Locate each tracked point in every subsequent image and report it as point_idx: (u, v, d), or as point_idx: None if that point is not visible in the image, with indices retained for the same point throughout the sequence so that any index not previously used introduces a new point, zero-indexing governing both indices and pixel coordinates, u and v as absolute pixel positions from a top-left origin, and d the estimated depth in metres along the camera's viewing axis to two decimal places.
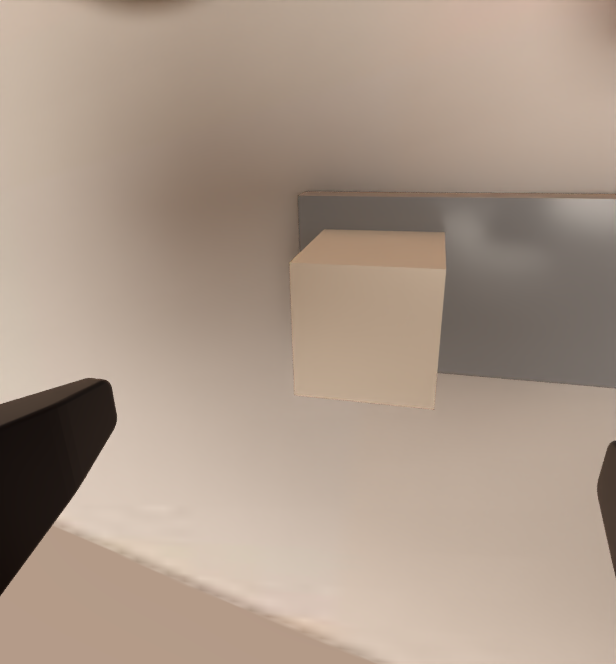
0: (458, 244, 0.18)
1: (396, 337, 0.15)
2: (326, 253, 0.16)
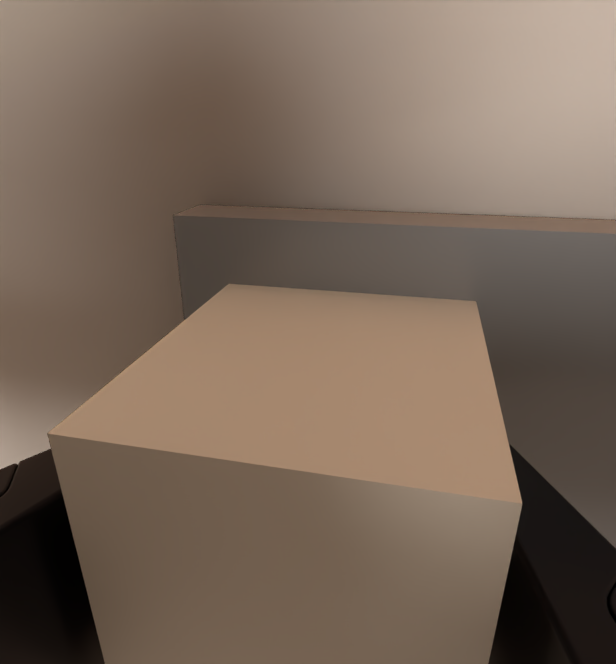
0: (504, 327, 0.09)
1: (360, 647, 0.05)
2: (183, 382, 0.06)
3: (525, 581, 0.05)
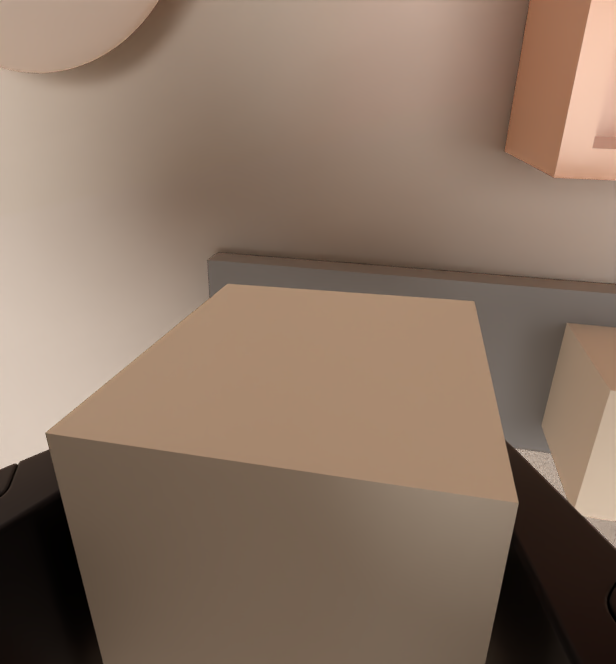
0: None
1: (358, 646, 0.05)
2: (181, 381, 0.06)
3: (525, 581, 0.05)
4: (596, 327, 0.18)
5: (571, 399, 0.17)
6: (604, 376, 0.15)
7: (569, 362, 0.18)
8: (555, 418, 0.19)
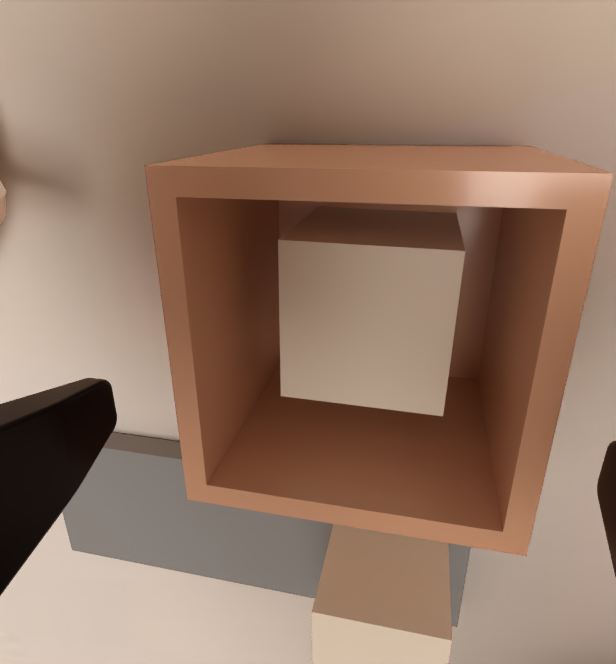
0: (165, 486, 0.23)
1: (402, 331, 0.13)
2: (322, 231, 0.13)
3: None
4: None
5: None
6: (319, 591, 0.17)
7: None
8: None
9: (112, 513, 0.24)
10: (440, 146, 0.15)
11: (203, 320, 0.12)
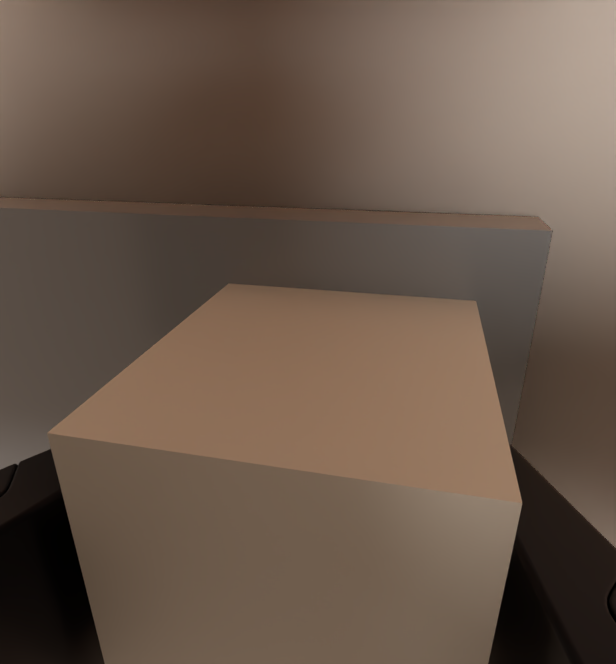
0: None
1: None
2: None
3: (525, 581, 0.05)
4: (272, 290, 0.09)
5: None
6: (103, 393, 0.06)
7: None
8: None
9: None
10: None
11: None
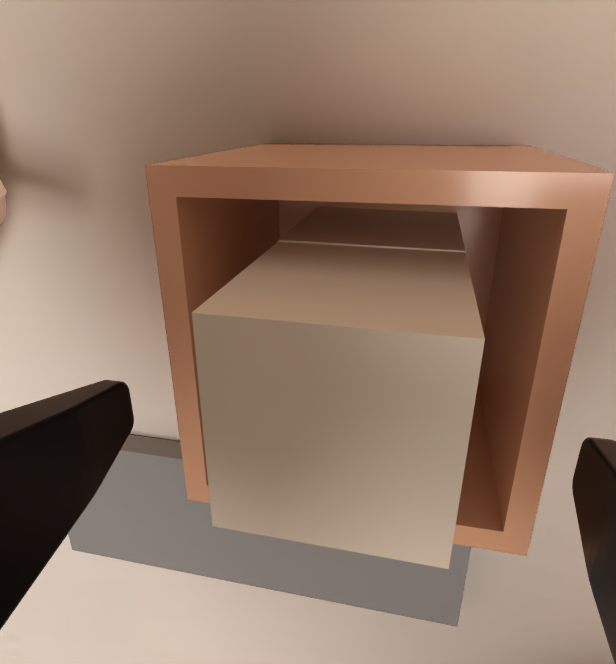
0: (165, 486, 0.23)
1: None
2: (322, 231, 0.13)
3: None
4: (312, 246, 0.12)
5: None
6: (217, 296, 0.09)
7: None
8: None
9: (112, 513, 0.24)
10: (440, 146, 0.15)
11: None
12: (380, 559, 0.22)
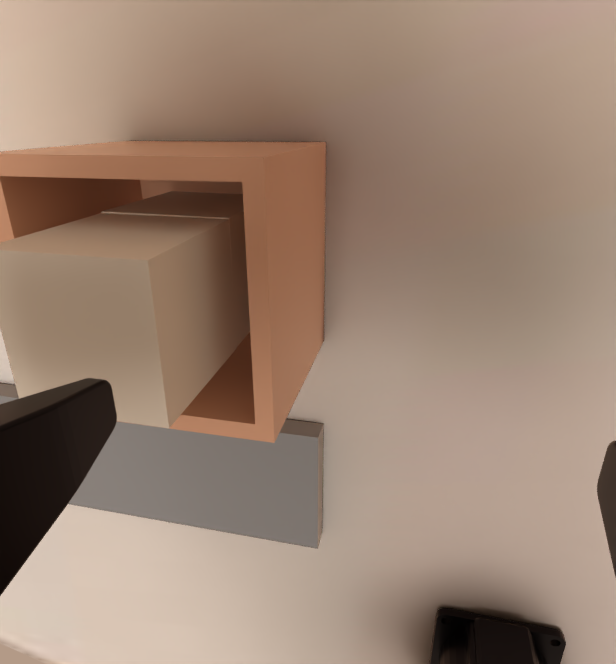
0: None
1: None
2: (144, 206, 0.18)
3: None
4: (122, 215, 0.16)
5: None
6: (8, 241, 0.13)
7: None
8: None
9: None
10: (255, 142, 0.20)
11: None
12: (250, 490, 0.26)
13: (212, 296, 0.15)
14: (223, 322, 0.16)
